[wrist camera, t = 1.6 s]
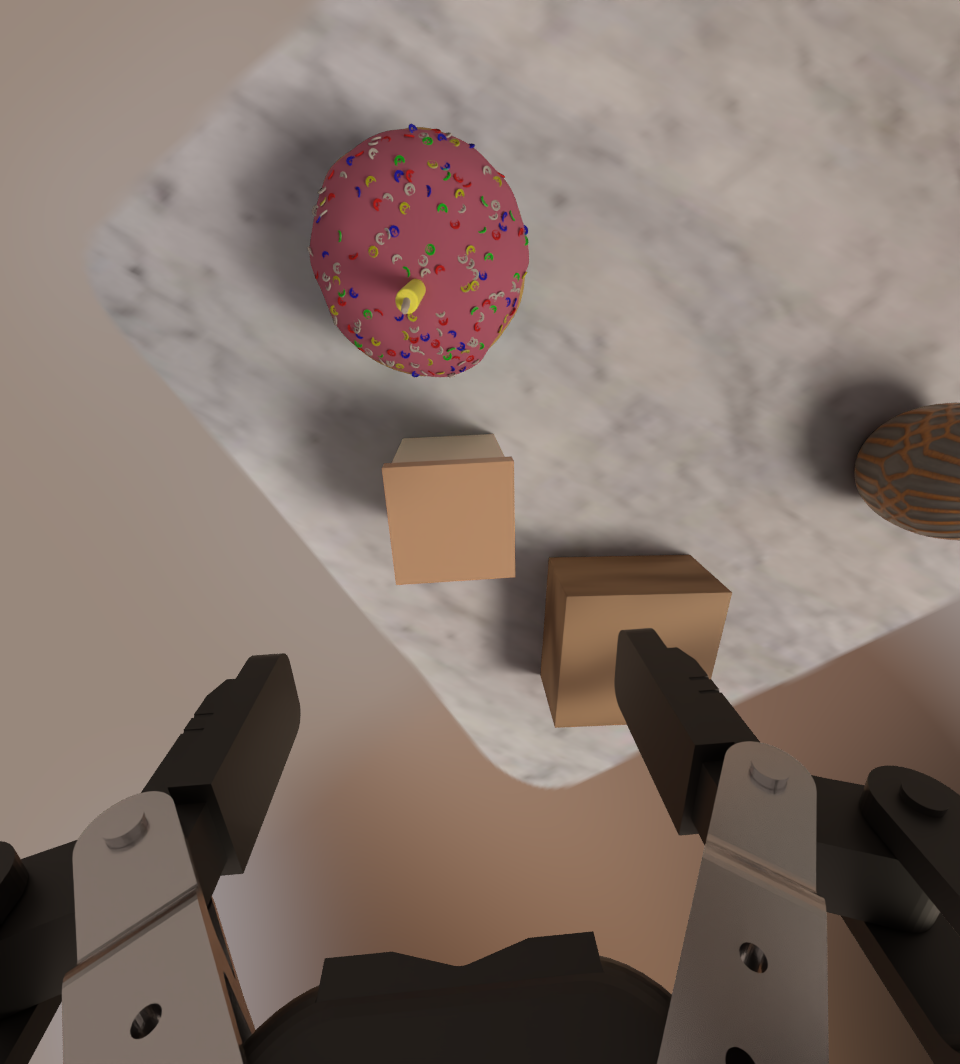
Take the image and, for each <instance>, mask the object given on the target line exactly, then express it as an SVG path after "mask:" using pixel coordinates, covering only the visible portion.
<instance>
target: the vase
mask: <svg viewBox="0 0 960 1064" xmlns="http://www.w3.org/2000/svg"><path fill="white" fill-rule="evenodd" d="M854 476H855V482H856V486H857V489H858V492H859V494H860V495H861V497H862V498H863V500H864V501H865V502H866V504H867V505H868V506H869V507H870V508H871V509H872V510H873V511H874V512H876V513H877V514H878V515H879V516H881V517H882V518H884V519H885V520H887V521H889V522H891V523H892V524H894V525H896V526H899V527H901V528H903V529H905V530H908V531H911V532H913V533H916V534H920V535H924V536H928V537H933V538H939V539H947V540H960V403H944V404H935V405H929V406H924V407H920V408H916V409H913V410H910V411H907V412H904V413H902V414H900V415H898V416H896V417H894V418H892V419H891V420H889V421H887V422H886V423H884V424H883V425H881V426H880V427H879V428H878V429H876V430H875V431H874V432H873V433H872V434H871V435H870V436H869V438H868V439H867V440H866V441H865V443H864V444H863V446H862V447H861V449H860V451H859V453H858V456H857V459H856V463H855V469H854Z"/></svg>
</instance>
